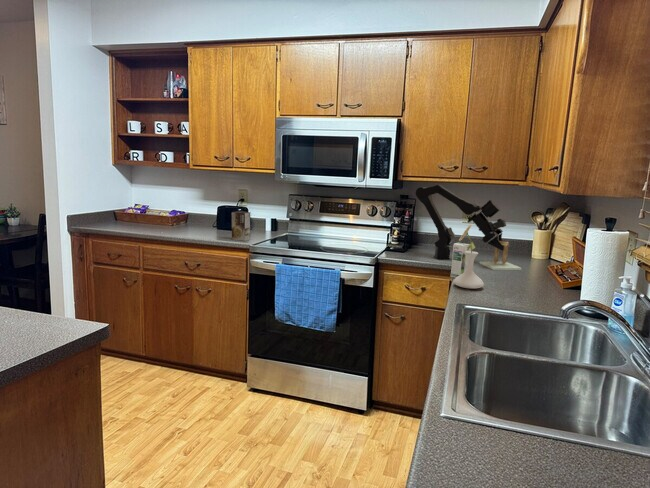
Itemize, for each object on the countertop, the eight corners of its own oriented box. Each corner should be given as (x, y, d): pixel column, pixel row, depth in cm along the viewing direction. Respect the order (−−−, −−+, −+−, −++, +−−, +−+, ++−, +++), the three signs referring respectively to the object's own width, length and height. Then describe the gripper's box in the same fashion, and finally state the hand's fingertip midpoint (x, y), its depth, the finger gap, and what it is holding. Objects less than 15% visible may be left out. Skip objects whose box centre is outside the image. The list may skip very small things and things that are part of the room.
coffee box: (250, 239, 267) (251, 212, 265) (244, 241, 262) (245, 213, 259) (237, 238, 271) (237, 211, 268) (231, 239, 265) (231, 211, 262)
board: (493, 269, 212) (493, 267, 212) (479, 263, 226) (479, 261, 226) (521, 270, 214) (521, 268, 214) (505, 263, 228) (506, 261, 228)
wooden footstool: (493, 262, 219) (495, 241, 217) (495, 260, 223) (497, 240, 222) (504, 264, 216) (506, 243, 215) (506, 262, 221) (508, 241, 219)
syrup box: (449, 277, 194) (452, 243, 192) (457, 275, 199) (460, 242, 196) (462, 279, 190) (465, 245, 188) (469, 277, 195) (472, 244, 192)
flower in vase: (461, 281, 187) (467, 220, 183) (488, 287, 179) (495, 224, 175) (445, 287, 178) (451, 222, 173) (472, 293, 170) (479, 226, 166)
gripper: (492, 214, 210) (515, 241, 206) (500, 211, 226) (521, 236, 222) (473, 229, 215) (495, 256, 212) (482, 226, 231) (502, 250, 227)
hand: (504, 249), depth 218 cm, fingers closed on wooden footstool, 5 cm apart
